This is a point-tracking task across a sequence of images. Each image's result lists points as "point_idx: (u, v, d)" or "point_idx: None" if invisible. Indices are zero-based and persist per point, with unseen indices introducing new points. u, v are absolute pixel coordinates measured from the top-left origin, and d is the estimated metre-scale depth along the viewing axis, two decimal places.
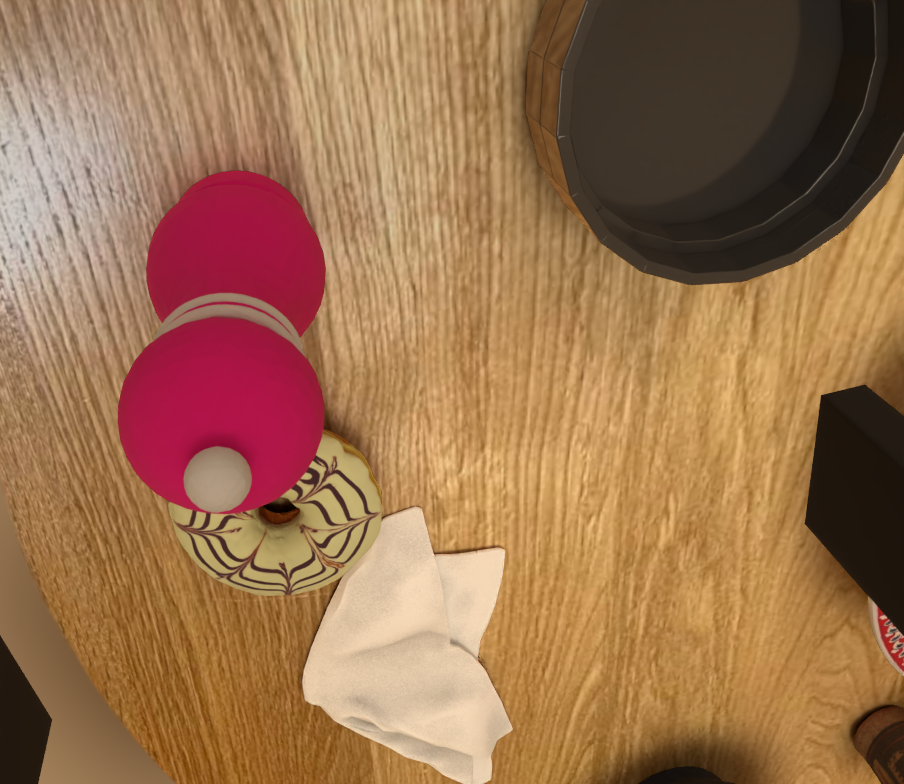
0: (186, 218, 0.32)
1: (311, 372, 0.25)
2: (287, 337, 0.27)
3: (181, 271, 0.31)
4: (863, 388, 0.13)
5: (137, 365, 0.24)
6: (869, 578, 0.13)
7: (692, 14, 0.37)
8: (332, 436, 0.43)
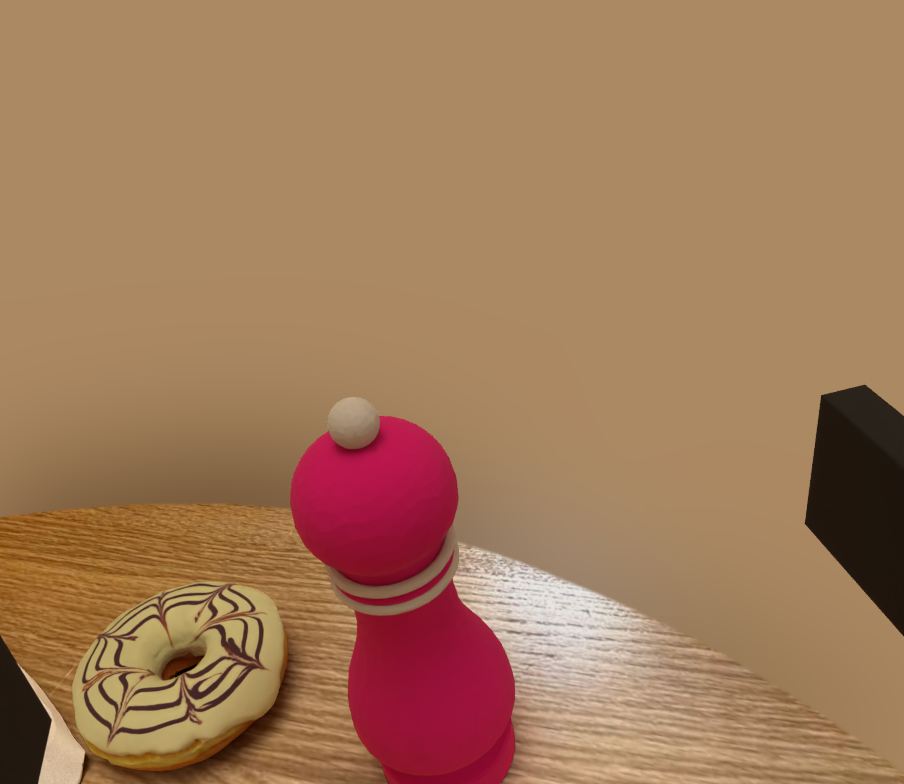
0: (501, 651, 0.36)
1: (375, 553, 0.28)
2: (398, 588, 0.30)
3: (467, 608, 0.35)
4: (863, 388, 0.13)
5: None
6: (869, 579, 0.13)
7: None
8: (217, 738, 0.39)
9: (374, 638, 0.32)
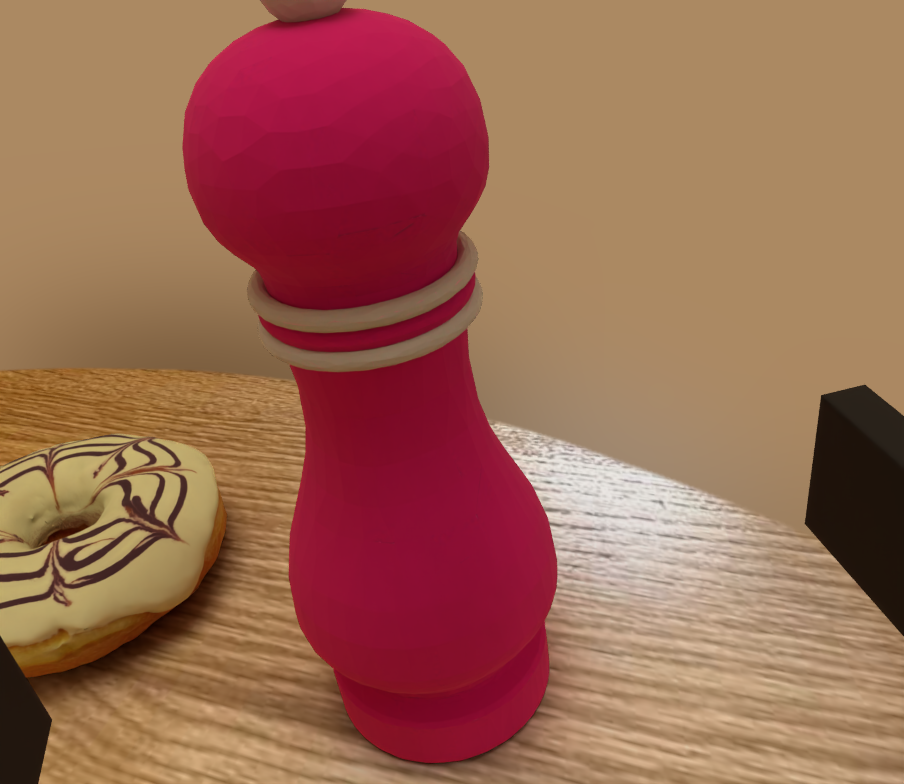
0: (540, 505, 0.22)
1: (323, 204, 0.14)
2: (369, 311, 0.16)
3: None
4: (863, 388, 0.13)
5: None
6: (869, 579, 0.13)
7: None
8: (95, 631, 0.26)
9: (328, 437, 0.19)
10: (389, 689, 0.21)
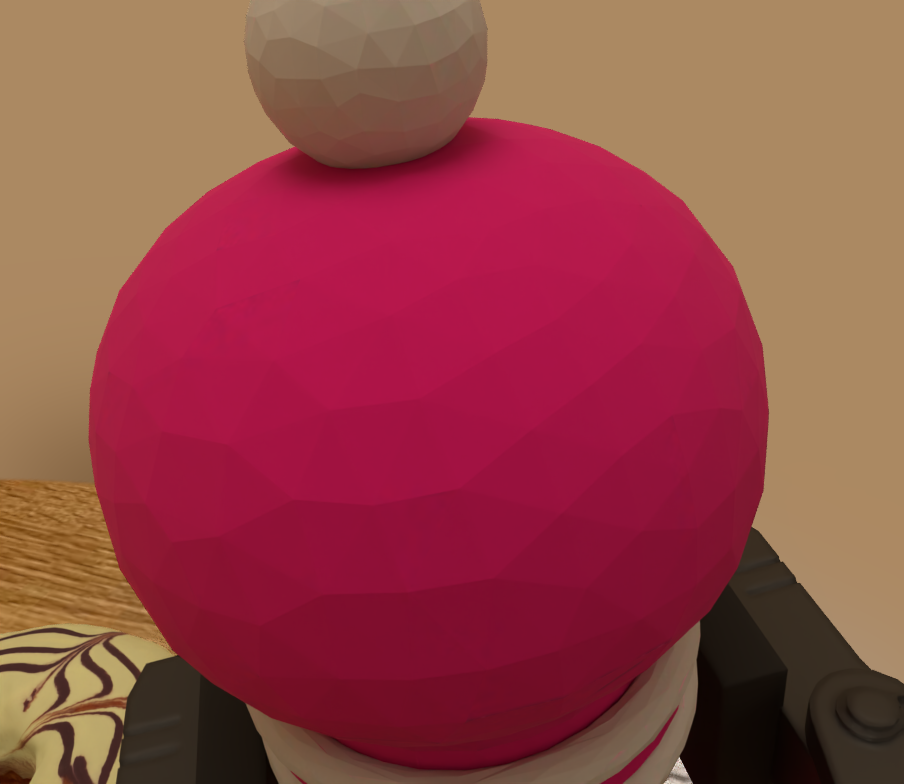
0: None
1: (435, 669, 0.05)
2: None
3: None
4: None
5: None
6: None
7: None
8: None
9: None
10: None
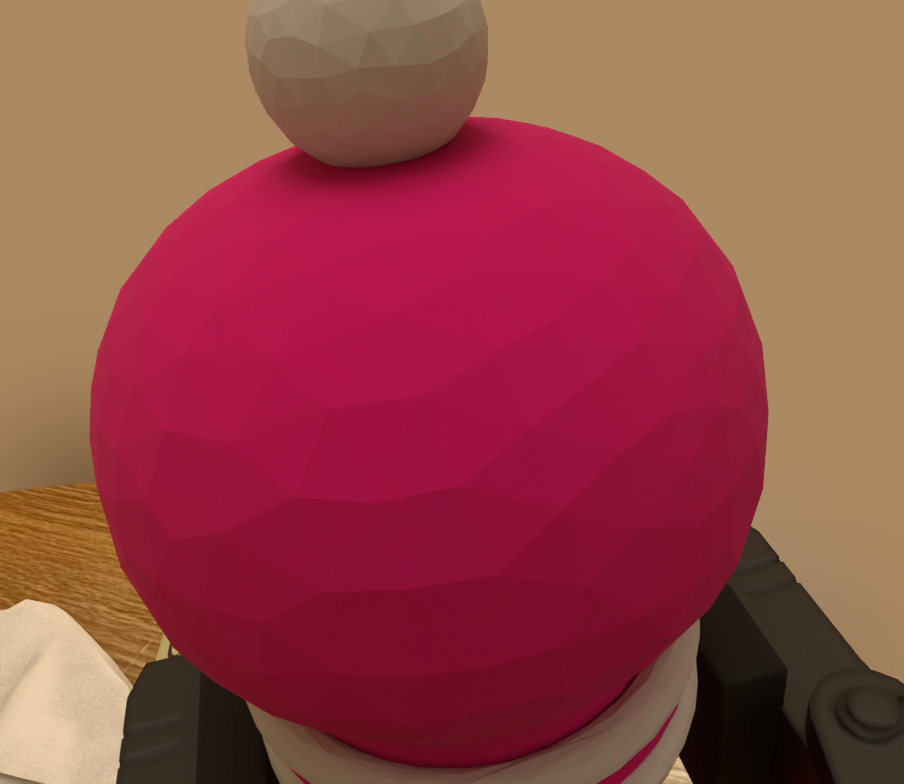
0: None
1: (436, 666, 0.05)
2: None
3: None
4: None
5: None
6: None
7: None
8: None
9: None
10: None
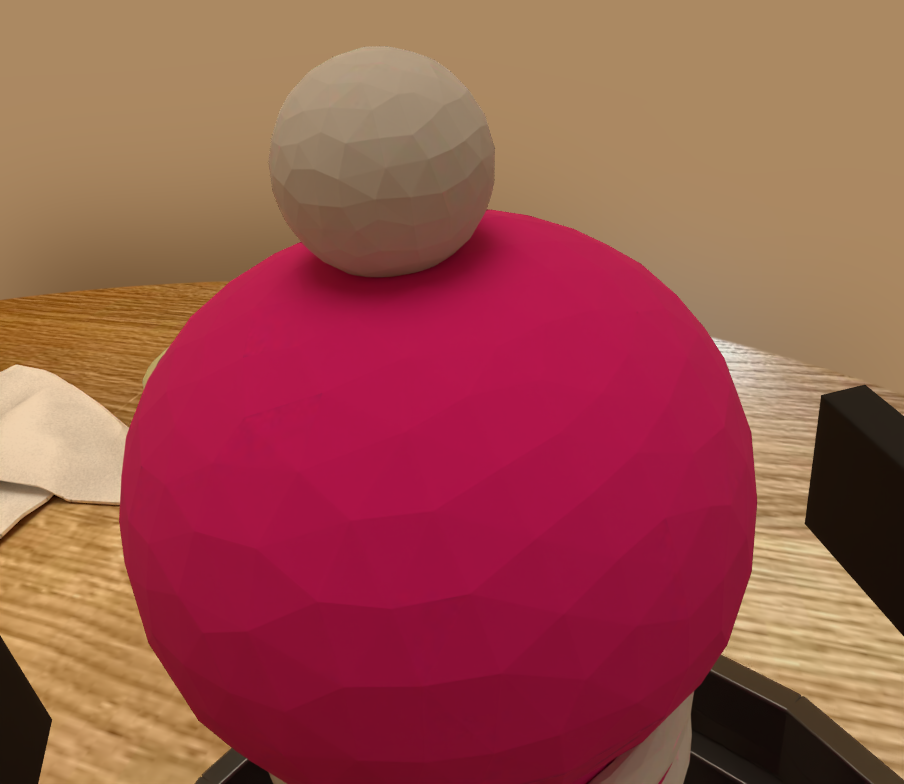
0: None
1: (446, 753, 0.06)
2: None
3: None
4: (863, 388, 0.13)
5: None
6: (869, 579, 0.13)
7: None
8: None
9: None
10: None
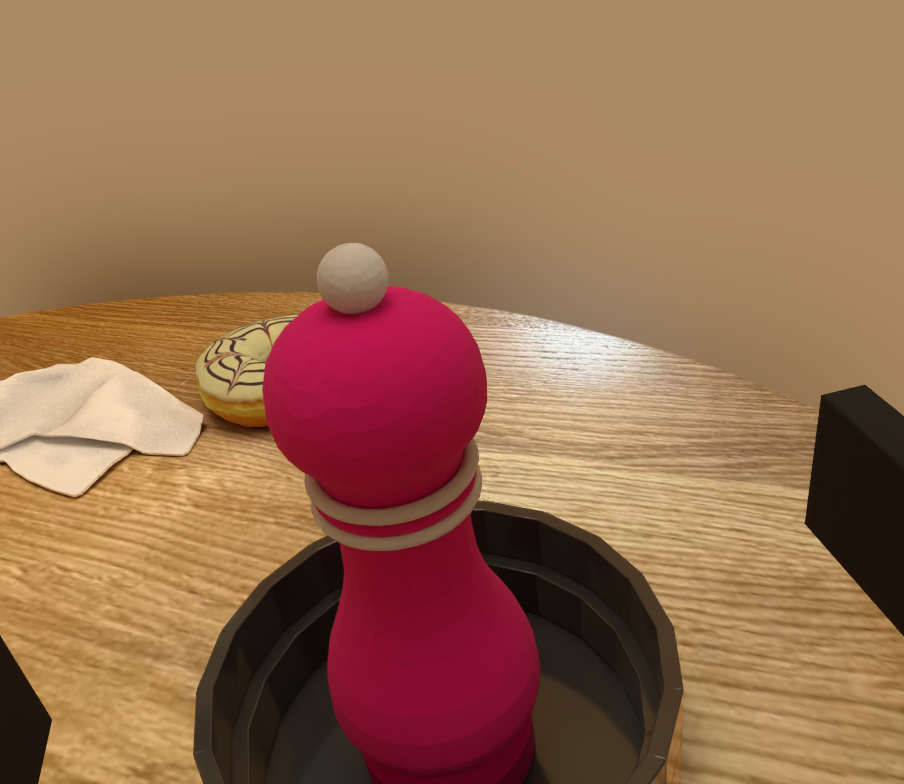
0: (526, 623, 0.28)
1: (369, 454, 0.20)
2: (399, 512, 0.22)
3: None
4: (863, 388, 0.13)
5: None
6: (869, 579, 0.13)
7: None
8: None
9: (365, 587, 0.25)
10: (408, 773, 0.27)
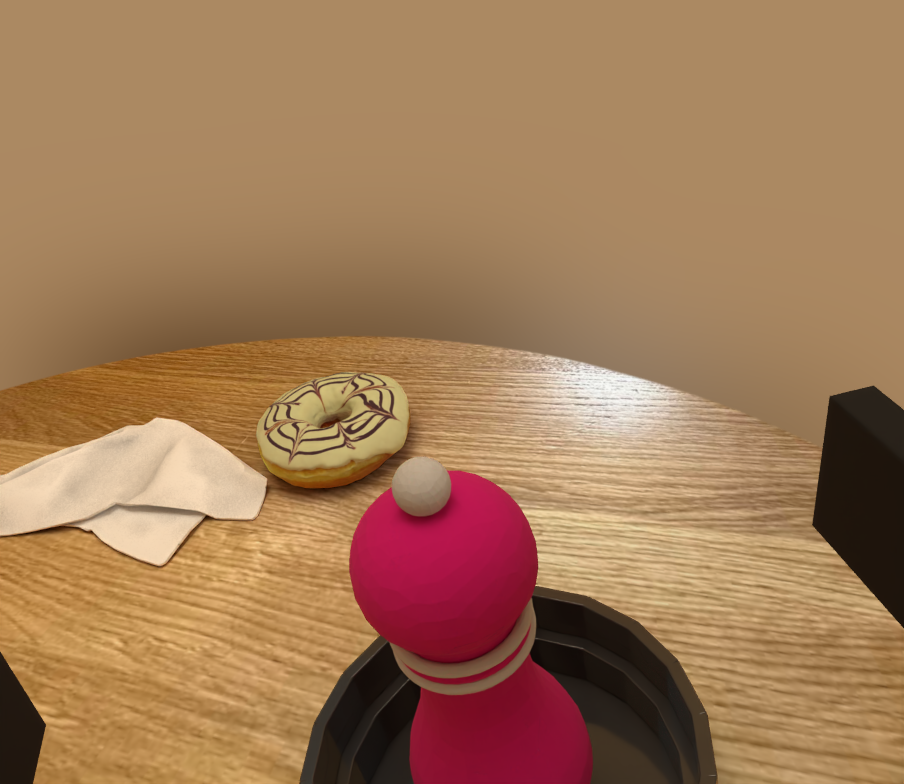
0: (579, 718, 0.33)
1: (445, 636, 0.25)
2: (470, 667, 0.26)
3: (541, 673, 0.32)
4: (871, 389, 0.13)
5: None
6: (877, 580, 0.13)
7: None
8: (366, 461, 0.55)
9: (441, 712, 0.29)
10: None
